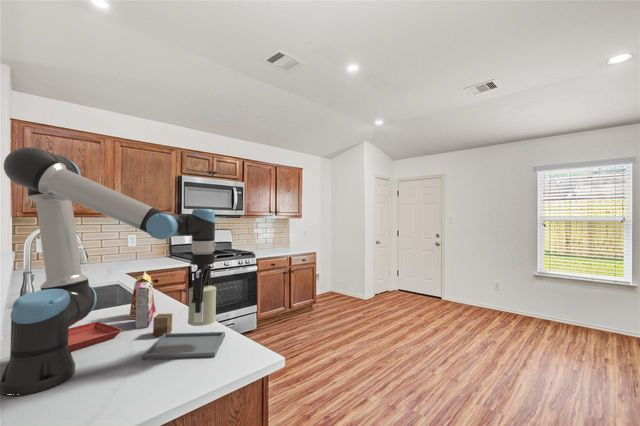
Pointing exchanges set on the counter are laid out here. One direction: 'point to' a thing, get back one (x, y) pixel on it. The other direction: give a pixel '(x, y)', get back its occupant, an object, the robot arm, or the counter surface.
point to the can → (204, 306)
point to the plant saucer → (90, 335)
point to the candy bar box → (143, 305)
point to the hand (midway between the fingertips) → (202, 317)
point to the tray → (185, 345)
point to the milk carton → (140, 279)
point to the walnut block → (162, 324)
